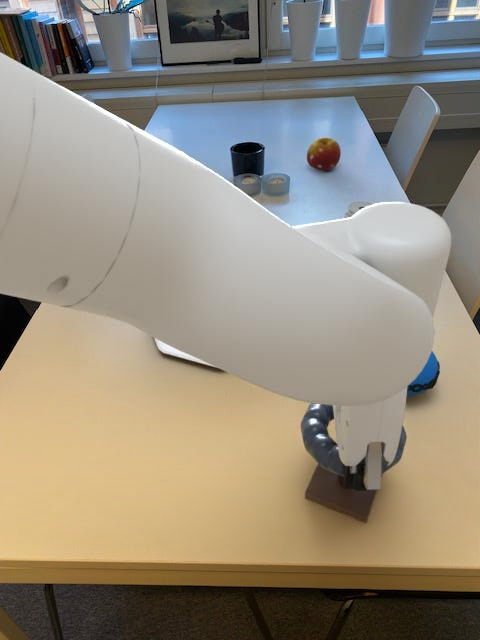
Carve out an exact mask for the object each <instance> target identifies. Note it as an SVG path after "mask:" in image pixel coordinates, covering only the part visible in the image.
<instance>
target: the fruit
mask: <svg viewBox="0 0 480 640" xmlns="http://www.w3.org/2000/svg"><path fill="white" fill-rule="evenodd" d="M341 155H342V151H341V146H340V144H339V143H338V142H337V140H335V139H333V138H331V137H327V136H326V137H320V138H317V139H315V140H314V141H313V142H311V144H310V145H309V147H308V149H307V152H306V161H307V163H308V166H310V167H311V168H312V169H315V170H317V171H322V172H328V171H330V170H333V169H334V168H335V167H336V166H338V164H339V162H340V160H341Z"/></svg>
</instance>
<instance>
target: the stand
mask: <svg viewBox="0 0 480 640" xmlns="http://www.w3.org/2000/svg"><path fill="white" fill-rule="evenodd" d="M383 475H384V473H383V474H382V475H381V479H382V477H383ZM377 492H378V490H366V491H356V490H354V489H346V488H344V477H343V476H341V475H338V474H335V473H333V472H330V471H327V470H325V469H323V468H322V467H321V466H320V465H319V464H318V463H317V465H316V467H315V469H314V472H313V474H312V475H311V479H310V481H309V483H308V485H307V487H306V490H305V492H304V499H307V500H309V501H312V502H315V503H317V504H319V505H321V506H323V507H326V508H329V509H330V510H331V509H332V510H333V511H336V512H338V513H341V514H343V515H345V516H347V517H350V518H352V519H355V520H358V521H359V522H362V523H365V524H367V523H368V520H369V517H370V514H371V511H372V508H373V505H374V501H375V499H376V496H377Z"/></svg>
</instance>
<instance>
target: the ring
mask: <svg viewBox="0 0 480 640" xmlns="http://www.w3.org/2000/svg"><path fill="white" fill-rule="evenodd" d="M333 420H334V412H333V405H323V404H314V403H309V405H308V406H307V409H306V410H305V412H304V415H303V417H302V419H301V421H300V426H299V427H300V432H301V437H302V443H303V445H304V449H305V451H306V452H307V453H308V454H309V456H310V457H311V458H312V459H313V460H314V461H315V462H316V463H317V465H318V464H319V465H320V466H321V467H322V468H323V469H325V470H327V471H330V472H333V473H335V474H338V475H341V476H343V477H345V470H346V465H344V464H343V463H342V461H341V460H340V456H339V451H338V444H337V441H335V440H334V439H333V438H332V437H331V436H330V433H329V430H328V427H329V425H330V424H331V422H332V421H333ZM407 438H408V437H407V432H406V429H405V427H404V424H402V430H401V435H400V440H399V445H398V449H397V452H396V455H395V458H394V460H393V462H392V463H391V464H390V465H389V466H387V465H386V464H384V462H383V457H382V462H381V475H382V474H383V475H384V474H385V473H386V472H387V471H389V470H390V469H392V468H393V467H395V466H396V465H397V464H398V463H399V462H400V461H401V459H402V456H403V453H404V451H405V446H406V443H407ZM365 458H366V457H364V458H363V459H362V460H365ZM383 475H382V476H383Z"/></svg>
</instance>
